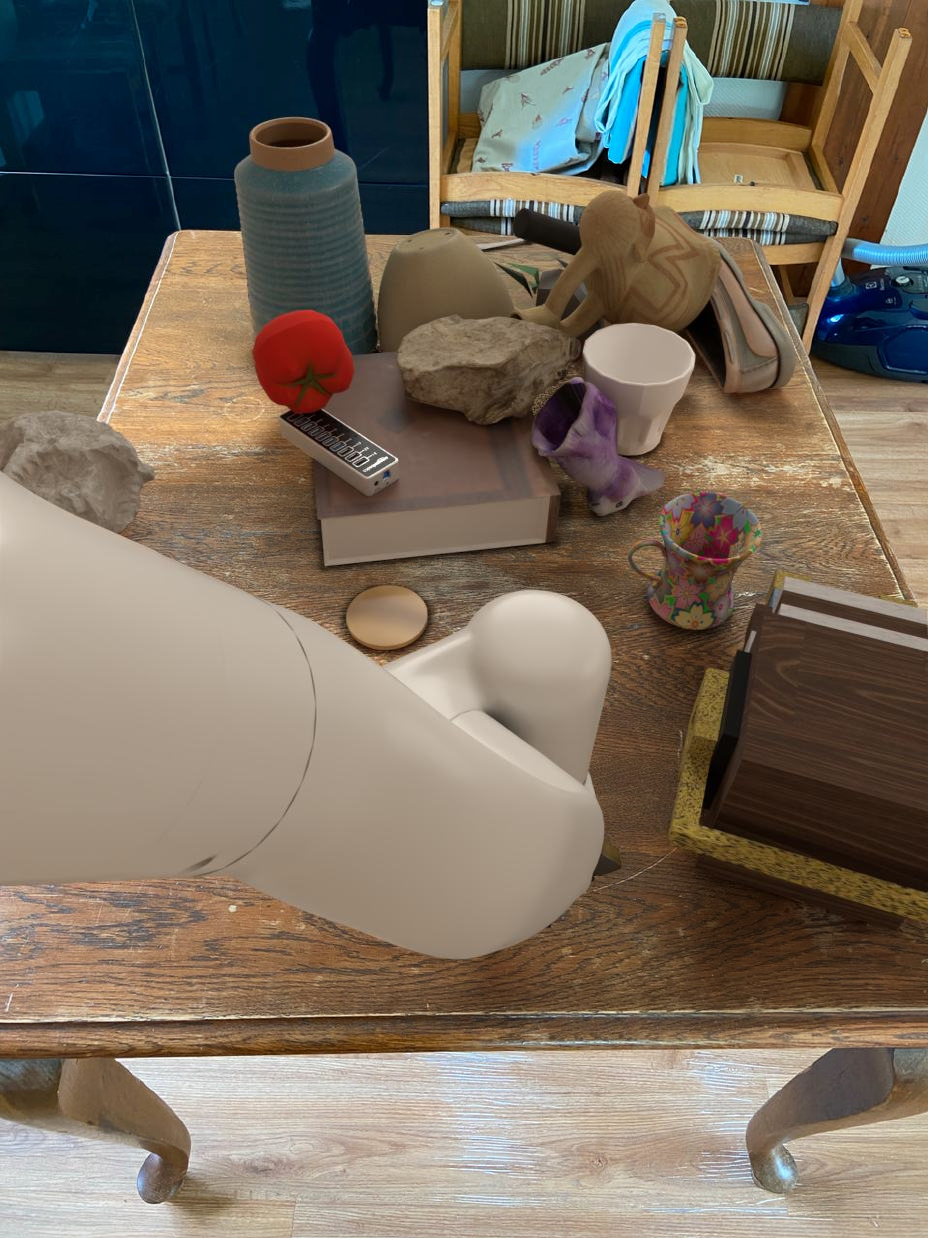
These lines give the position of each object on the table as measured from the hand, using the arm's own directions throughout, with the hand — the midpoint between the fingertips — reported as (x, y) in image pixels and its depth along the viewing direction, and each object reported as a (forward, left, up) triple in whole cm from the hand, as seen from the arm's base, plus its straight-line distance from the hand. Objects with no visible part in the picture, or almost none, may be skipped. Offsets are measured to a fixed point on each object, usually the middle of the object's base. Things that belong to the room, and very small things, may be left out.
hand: (503, 907), depth 65 cm
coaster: (+32, +10, -4) cm, 33 cm away
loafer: (+81, -36, +1) cm, 89 cm away
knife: (+106, -7, -4) cm, 106 cm away
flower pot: (+81, +5, +10) cm, 82 cm away
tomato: (+56, +19, +12) cm, 61 cm away
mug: (+33, -19, -4) cm, 38 cm away
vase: (+80, +20, -4) cm, 82 cm away
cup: (+60, -18, -4) cm, 63 cm away
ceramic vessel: (+82, -26, +4) cm, 86 cm away
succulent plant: (+87, -11, -4) cm, 88 cm away
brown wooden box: (+28, -32, +2) cm, 42 cm away
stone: (+49, +39, +7) cm, 63 cm away
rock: (+62, +8, +2) cm, 62 cm away
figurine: (+50, -8, +6) cm, 51 cm away
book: (+54, +6, -4) cm, 55 cm away
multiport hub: (+48, +15, +3) cm, 51 cm away
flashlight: (+95, -17, +5) cm, 96 cm away
